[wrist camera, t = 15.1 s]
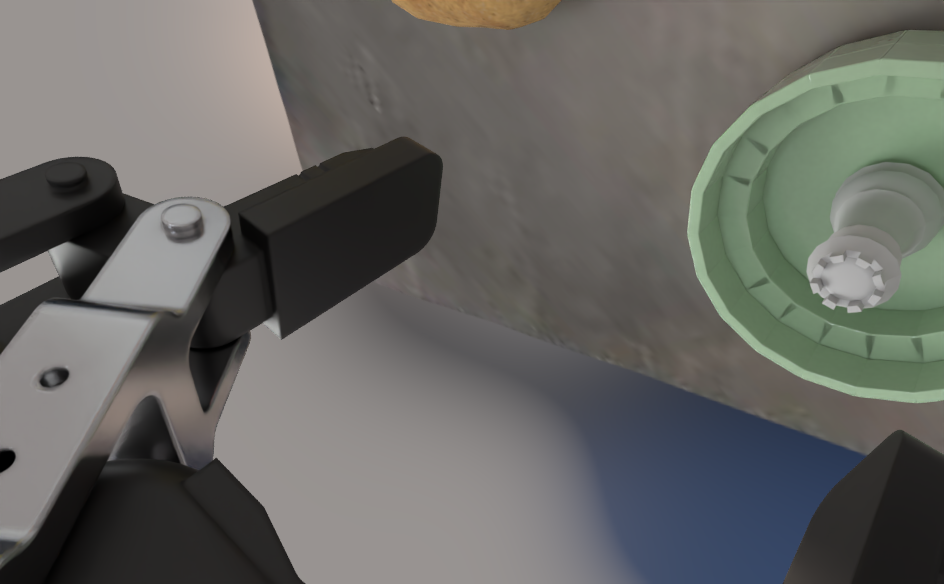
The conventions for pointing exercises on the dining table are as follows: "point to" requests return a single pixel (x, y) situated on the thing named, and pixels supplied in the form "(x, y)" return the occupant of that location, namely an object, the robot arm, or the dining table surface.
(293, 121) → the dining table surface
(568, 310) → the dining table surface
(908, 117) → the bowl
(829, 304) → the rook chess piece
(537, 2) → the potato
